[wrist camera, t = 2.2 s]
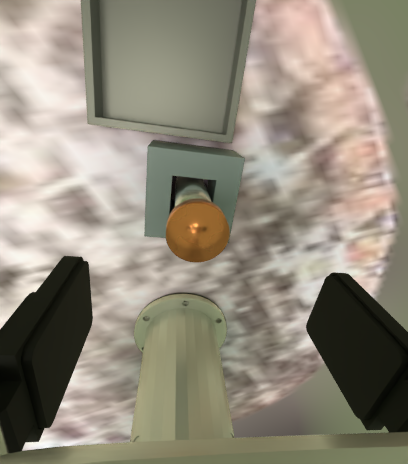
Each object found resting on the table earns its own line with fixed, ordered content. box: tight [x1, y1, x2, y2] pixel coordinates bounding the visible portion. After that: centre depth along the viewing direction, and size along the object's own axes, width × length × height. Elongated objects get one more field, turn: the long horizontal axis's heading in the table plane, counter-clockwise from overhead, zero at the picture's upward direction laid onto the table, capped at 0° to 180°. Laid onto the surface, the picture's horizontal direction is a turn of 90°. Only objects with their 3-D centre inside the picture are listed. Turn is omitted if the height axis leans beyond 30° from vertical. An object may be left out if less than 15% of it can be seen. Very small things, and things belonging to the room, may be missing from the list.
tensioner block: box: [144, 140, 245, 243], centre depth 24 cm, size 8×8×5 cm
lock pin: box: [166, 176, 230, 262], centre depth 21 cm, size 4×4×12 cm
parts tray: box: [81, 0, 256, 143], centre depth 20 cm, size 12×12×3 cm
